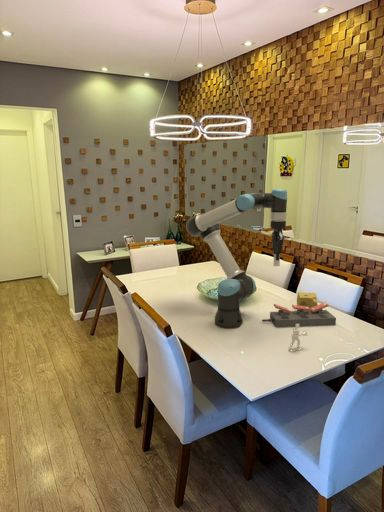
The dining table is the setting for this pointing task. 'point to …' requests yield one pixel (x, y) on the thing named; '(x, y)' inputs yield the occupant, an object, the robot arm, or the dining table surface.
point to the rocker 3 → (319, 307)
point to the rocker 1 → (282, 308)
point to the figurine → (296, 338)
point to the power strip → (301, 318)
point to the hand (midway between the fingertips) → (276, 265)
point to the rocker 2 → (301, 307)
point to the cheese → (307, 299)
